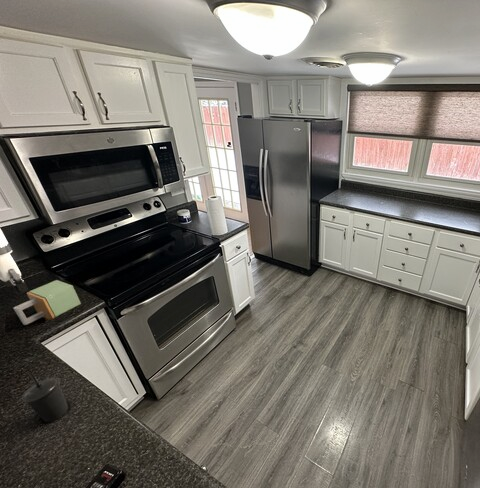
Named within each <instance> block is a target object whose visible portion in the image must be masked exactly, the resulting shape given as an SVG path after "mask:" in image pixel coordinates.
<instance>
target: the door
mask: <svg viewBox="0 0 480 488" xmlns="http://www.w3.org/2000/svg"><path fill="white" fill-rule="evenodd" d="M26 295H27V297H28V299H29V300H27V301H25V302H22V303H20V304H19V305H16V306H14V307H13V310H14V312H15V314H16V315H17V317H18V318H19V320H20V322H21V323H22V325H23V326H27V325H29V324H31V323H33V322H35V321H37V320H39V319H41V318H44V319H47V320H49V321H50V320H52V319H55V318H56V317H55V316H54V314H53V313H52V311H51V309H50V307H49V305H48V303H47V301H46V299H45V298H42V297H40V296H37V295H35V294H32V293H30V292H29V291H27V292H26ZM32 306H33V307H34V309H35V311H36V313H35V314H32V315H31V316H29V317H27V316H26V314H25V313H24V311H23V310H25V309H28V308H30V307H32Z"/></svg>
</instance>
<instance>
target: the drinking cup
mask: <svg viewBox="0 0 480 488" xmlns="http://www.w3.org/2000/svg"><path fill="white" fill-rule="evenodd" d="M28 375H29V376H30V378H31V380H32V381H33V382H34V384H33V385H32V386H30V387H29V388H27V390H25V392H24V393H23V394H22V395H21V396H22V397H21V400H22V401H23V403H26V404H27V405H28V406H29V407H30V408H31V409H32V410H33V411H34V412H35V413H36V414H37V415H38V416H39V417H40V418H41V419H42V420H43V421H44V422H46V423H50V422H54V421H57V420H59V418H61V417H62V416H63V415H65V414H66V413H67V411H68V409H69V405H68V402H67V399H66V397H65V395H64V392H63V390H62V387H61V385H60V379H59V378H57V377H48V378H45V379H43V380H40V381H39V380H38V379H37V377H36V375H35V374H34V373H33V371H31V372H29V373H28Z"/></svg>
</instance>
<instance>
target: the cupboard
mask: <svg viewBox="0 0 480 488" xmlns="http://www.w3.org/2000/svg"><path fill="white" fill-rule="evenodd" d="M28 292H30V293H32V294H35V295H37V296H40V297H42V298H45V299H46V301H47V303H48V305H49V307H50V309H51V311H52V313H53V314H54V316H55V317H54V318H56V317H58V316H60V315H62V314H65V313H66V312H68V311H70V310H72V309H74V308H75V307H77V306H79V305H81V304H82V303H81V300H80V298H79V296H78V294H77V292H76V290H75V287H74V286H73V285H72V284H69V283H66V282H63V281H61V280H58V279H55V280H53V281H51V282H49V283H45V284H43V285H41V286H39V287H36V288H34V289H32V290H28Z"/></svg>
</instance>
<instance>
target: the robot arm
mask: <svg viewBox="0 0 480 488" xmlns="http://www.w3.org/2000/svg"><path fill="white" fill-rule="evenodd" d="M11 253H13V250H12V247H11V245H10V243H9V242H8V240H7V238H6V236H5V234H4V232H3V230H2V229H1V228H0V280H1V281H2V282H3V285H4V286H5V287H6V288H9V287H12V288H13V290H14V292H15V294H17V295H20V294H22V293H25V292H29V288H28V286H27V284H26V283H25V281H24V280H23V279H22V272H21V271H20V269H19V267H18V264H17V263H16V262H15V259H14V258H13V257H12V255H11Z"/></svg>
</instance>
